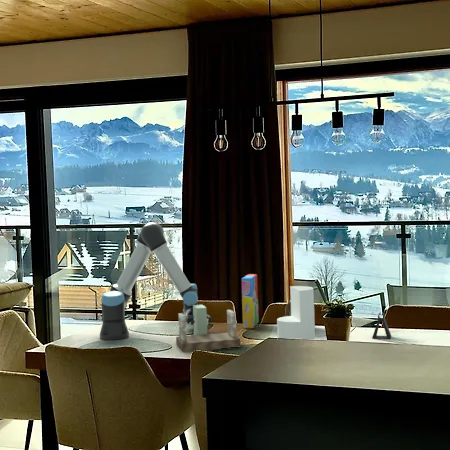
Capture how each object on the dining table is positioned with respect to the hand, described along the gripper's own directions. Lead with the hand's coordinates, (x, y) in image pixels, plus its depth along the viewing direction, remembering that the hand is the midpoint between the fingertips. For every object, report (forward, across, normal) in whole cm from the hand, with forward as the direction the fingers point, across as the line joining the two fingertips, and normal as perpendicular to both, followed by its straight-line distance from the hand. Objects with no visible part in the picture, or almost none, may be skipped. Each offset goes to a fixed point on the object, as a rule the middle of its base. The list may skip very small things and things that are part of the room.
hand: (201, 322), depth 376 cm
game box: (-31, -33, -9) cm, 46 cm away
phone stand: (+28, -84, -9) cm, 89 cm away
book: (-5, 0, -9) cm, 10 cm away
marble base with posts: (+15, 0, -9) cm, 17 cm away
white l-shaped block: (+36, -38, -9) cm, 53 cm away
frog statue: (-6, -53, -9) cm, 54 cm away
